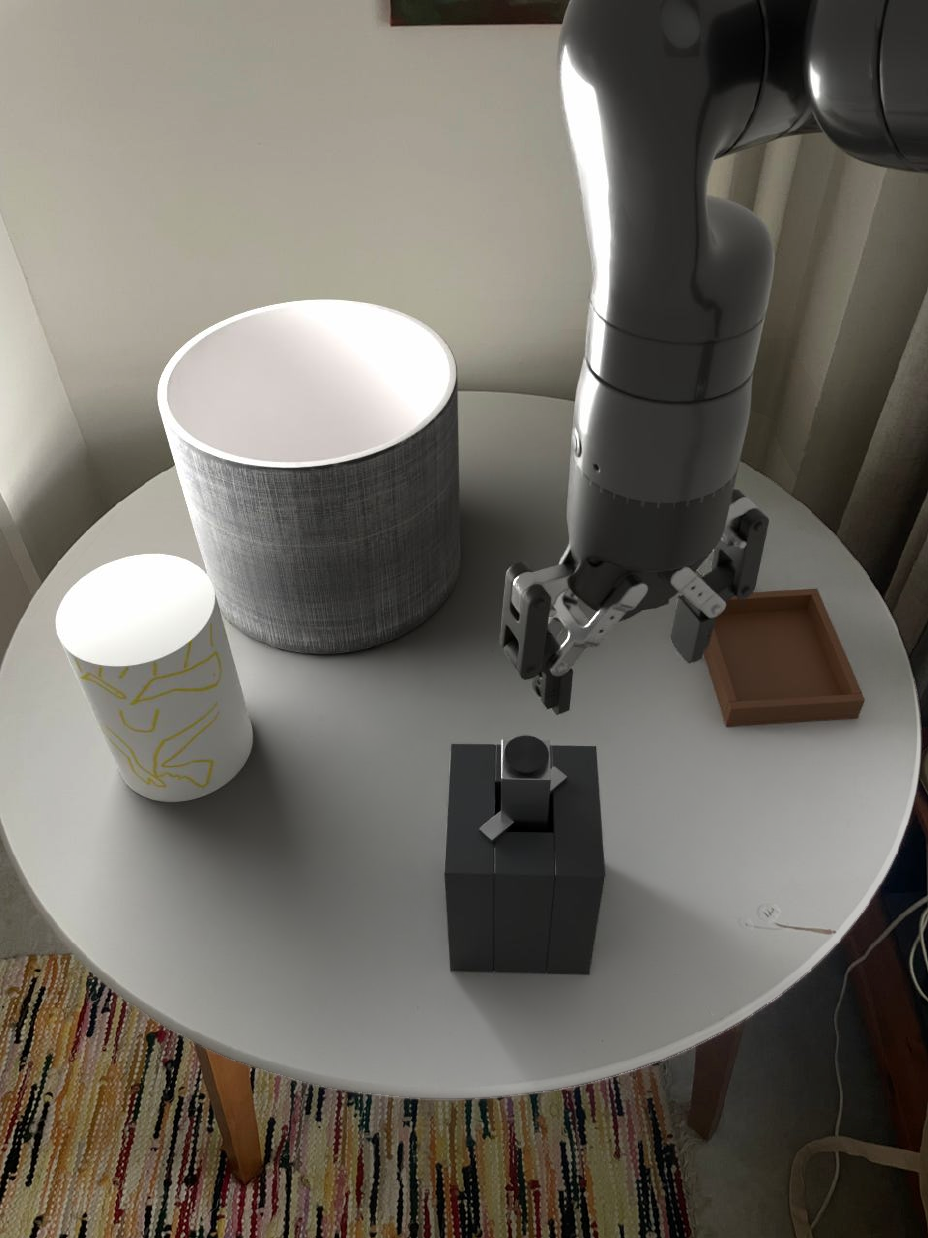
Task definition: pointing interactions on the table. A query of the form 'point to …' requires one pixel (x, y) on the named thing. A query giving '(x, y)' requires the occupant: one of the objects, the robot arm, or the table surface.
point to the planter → (320, 470)
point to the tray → (780, 661)
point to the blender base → (523, 869)
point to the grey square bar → (524, 787)
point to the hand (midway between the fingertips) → (621, 676)
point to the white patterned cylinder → (158, 674)
